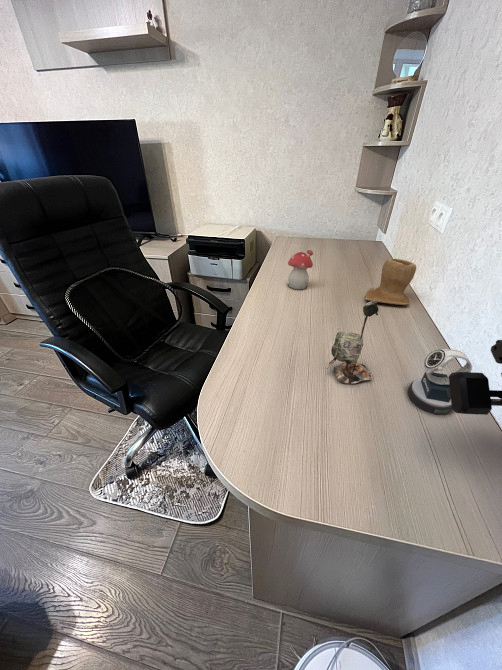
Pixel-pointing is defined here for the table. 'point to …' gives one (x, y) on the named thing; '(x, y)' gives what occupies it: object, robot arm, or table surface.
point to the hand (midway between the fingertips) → (472, 393)
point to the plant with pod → (351, 351)
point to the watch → (438, 382)
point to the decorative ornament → (300, 269)
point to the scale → (427, 400)
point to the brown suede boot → (393, 282)
